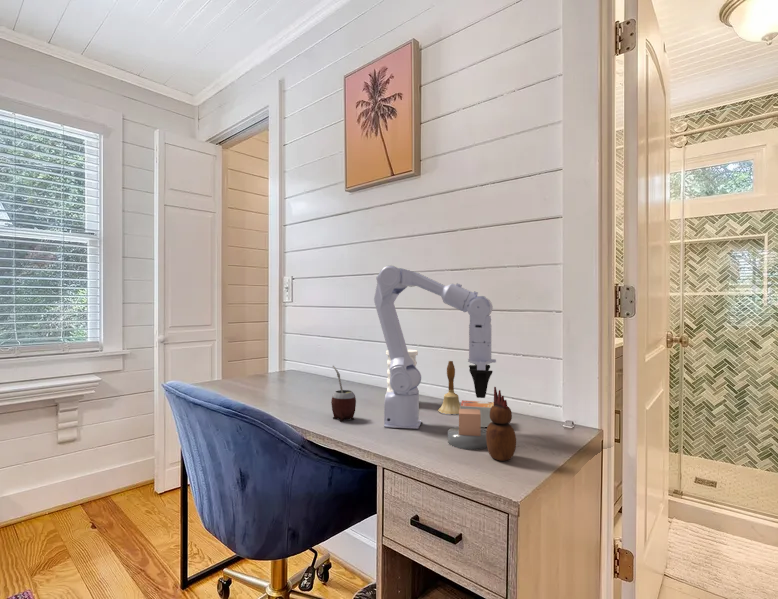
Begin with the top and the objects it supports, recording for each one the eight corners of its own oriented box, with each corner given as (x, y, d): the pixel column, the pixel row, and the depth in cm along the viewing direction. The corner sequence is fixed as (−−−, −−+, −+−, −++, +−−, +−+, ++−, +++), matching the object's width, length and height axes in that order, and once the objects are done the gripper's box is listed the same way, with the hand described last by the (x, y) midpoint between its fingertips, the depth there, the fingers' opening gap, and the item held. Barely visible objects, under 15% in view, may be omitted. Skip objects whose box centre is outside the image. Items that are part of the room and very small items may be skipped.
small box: (499, 408, 115) (460, 405, 117) (499, 428, 115) (460, 426, 117) (498, 401, 123) (461, 399, 125) (498, 421, 123) (461, 419, 125)
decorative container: (381, 406, 141) (382, 351, 141) (387, 399, 152) (387, 348, 153) (416, 408, 139) (417, 352, 139) (420, 400, 150) (420, 349, 151)
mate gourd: (353, 422, 120) (353, 369, 121) (325, 421, 121) (326, 368, 122) (357, 416, 128) (358, 365, 128) (332, 415, 129) (332, 365, 129)
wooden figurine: (482, 453, 95) (482, 385, 96) (508, 452, 96) (507, 385, 96) (492, 464, 88) (492, 391, 89) (519, 463, 89) (519, 390, 89)
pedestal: (446, 448, 98) (447, 437, 99) (448, 435, 108) (448, 425, 108) (491, 450, 97) (491, 439, 97) (488, 437, 107) (488, 427, 107)
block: (458, 434, 101) (458, 413, 101) (459, 429, 105) (459, 408, 106) (480, 436, 100) (480, 414, 100) (479, 430, 105) (479, 409, 105)
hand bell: (460, 416, 128) (460, 363, 129) (434, 413, 132) (434, 361, 132) (467, 410, 136) (467, 360, 136) (442, 408, 139) (442, 359, 140)
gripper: (498, 344, 104) (498, 401, 103) (493, 340, 118) (493, 390, 118) (468, 344, 105) (468, 399, 105) (467, 340, 119) (467, 389, 119)
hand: (480, 394), depth 111 cm, fingers open, 7 cm apart
